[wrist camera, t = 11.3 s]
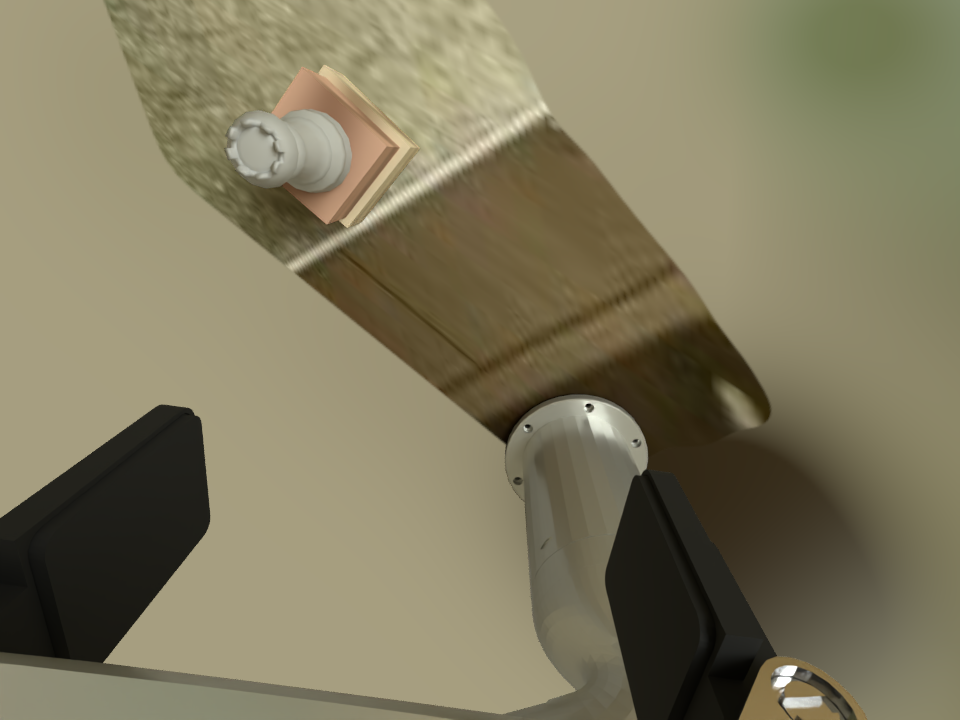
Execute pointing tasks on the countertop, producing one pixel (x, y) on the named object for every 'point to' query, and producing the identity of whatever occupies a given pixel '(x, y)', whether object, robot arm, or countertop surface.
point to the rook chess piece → (289, 150)
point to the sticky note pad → (371, 141)
